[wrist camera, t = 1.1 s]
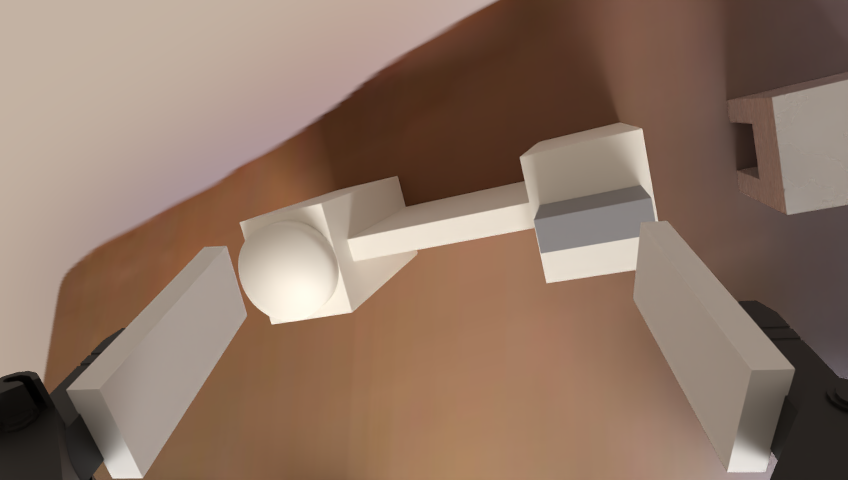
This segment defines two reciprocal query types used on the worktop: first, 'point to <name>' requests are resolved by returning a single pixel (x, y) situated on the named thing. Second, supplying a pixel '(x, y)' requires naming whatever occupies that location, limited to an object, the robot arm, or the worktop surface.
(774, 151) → the pale grey block
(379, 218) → the white blocky piece
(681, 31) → the worktop surface
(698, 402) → the robot arm
